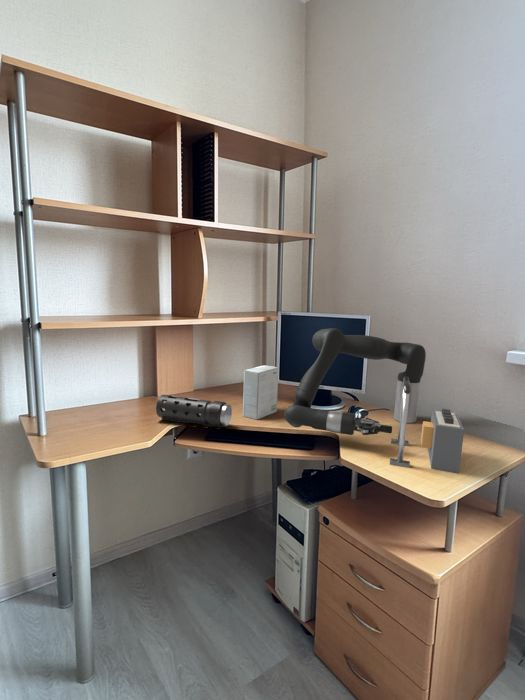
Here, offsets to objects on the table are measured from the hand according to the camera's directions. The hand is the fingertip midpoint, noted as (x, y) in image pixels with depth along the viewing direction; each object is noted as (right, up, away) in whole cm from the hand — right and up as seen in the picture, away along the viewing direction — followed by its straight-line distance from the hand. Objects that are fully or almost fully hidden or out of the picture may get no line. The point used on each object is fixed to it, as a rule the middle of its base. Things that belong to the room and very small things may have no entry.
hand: (392, 429), depth 145 cm
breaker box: (+15, -9, -4) cm, 19 cm away
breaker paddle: (+11, -4, -3) cm, 13 cm away
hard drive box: (-45, -1, +37) cm, 58 cm away
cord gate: (+3, -8, 0) cm, 9 cm away
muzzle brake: (-71, -2, +20) cm, 73 cm away
